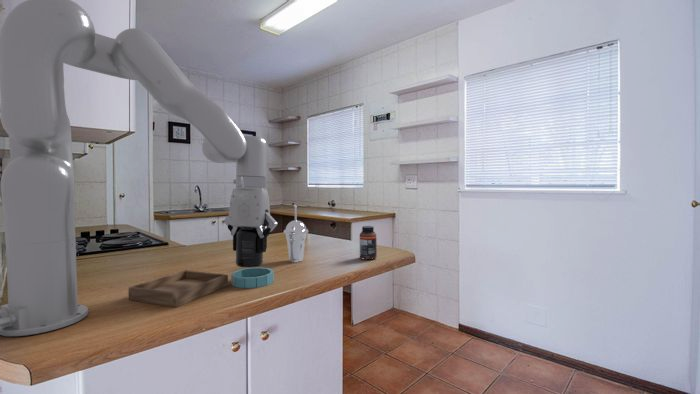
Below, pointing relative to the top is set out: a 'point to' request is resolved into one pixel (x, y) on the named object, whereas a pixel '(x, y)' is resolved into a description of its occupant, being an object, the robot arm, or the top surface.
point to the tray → (178, 288)
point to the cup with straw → (296, 238)
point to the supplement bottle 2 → (368, 243)
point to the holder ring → (252, 277)
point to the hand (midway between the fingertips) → (249, 250)
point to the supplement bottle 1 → (247, 248)
